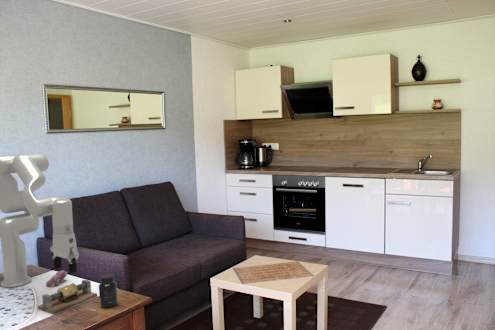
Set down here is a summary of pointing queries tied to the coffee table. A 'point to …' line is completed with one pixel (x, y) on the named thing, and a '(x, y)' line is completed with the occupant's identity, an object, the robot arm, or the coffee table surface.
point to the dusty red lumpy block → (57, 278)
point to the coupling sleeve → (68, 291)
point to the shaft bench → (56, 305)
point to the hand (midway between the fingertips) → (65, 270)
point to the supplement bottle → (108, 291)
